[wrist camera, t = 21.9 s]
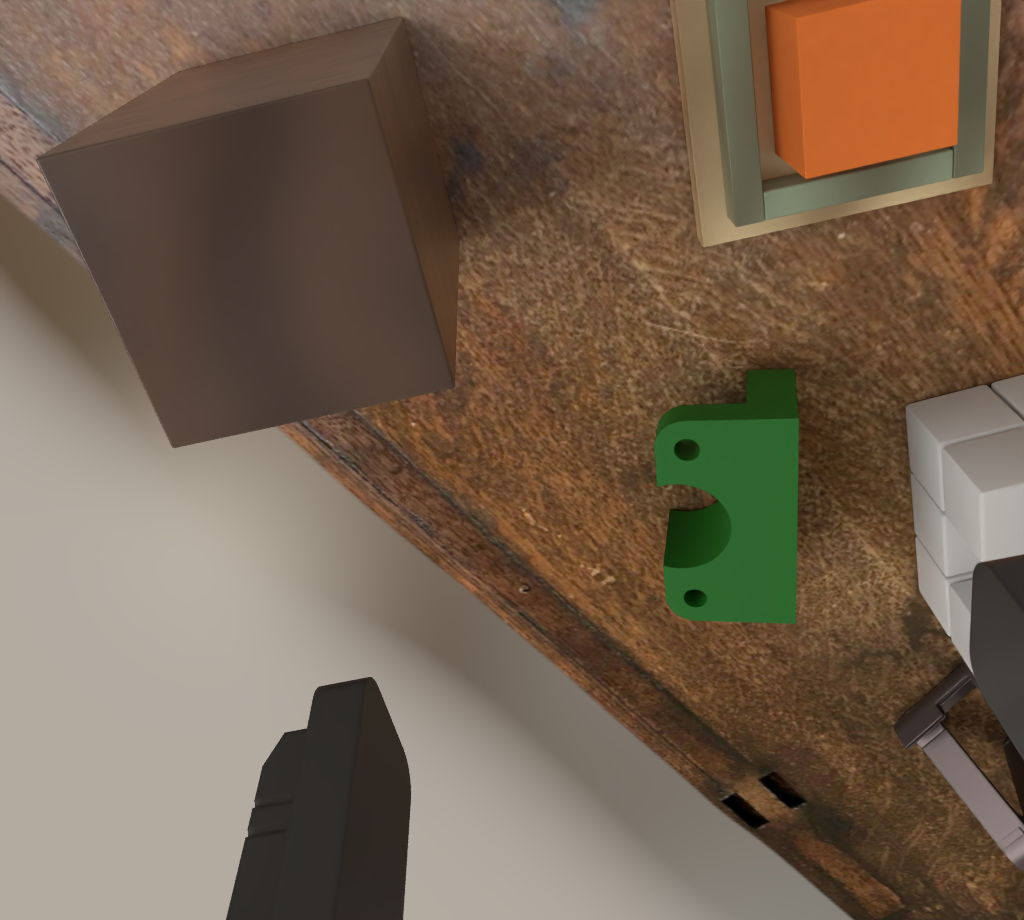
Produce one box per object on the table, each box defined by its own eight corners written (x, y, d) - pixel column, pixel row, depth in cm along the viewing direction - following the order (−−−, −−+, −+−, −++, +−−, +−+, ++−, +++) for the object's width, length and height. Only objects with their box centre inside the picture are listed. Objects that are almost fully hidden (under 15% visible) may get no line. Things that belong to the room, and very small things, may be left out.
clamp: (669, 366, 48) (650, 380, 40) (790, 362, 47) (798, 375, 38) (675, 591, 50) (658, 651, 42) (791, 594, 49) (800, 657, 40)
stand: (259, 287, 41) (172, 449, 29) (177, 71, 36) (33, 158, 24) (459, 241, 40) (455, 388, 28) (402, 15, 36) (368, 77, 24)
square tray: (697, 239, 41) (711, 259, 38) (660, -73, 34) (674, -71, 32) (979, 176, 40) (1011, 193, 37) (993, -156, 34) (1032, -160, 31)
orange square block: (775, 153, 38) (805, 179, 34) (764, 5, 35) (796, 17, 31) (913, 122, 37) (958, 145, 34) (914, -31, 34) (962, -23, 31)
